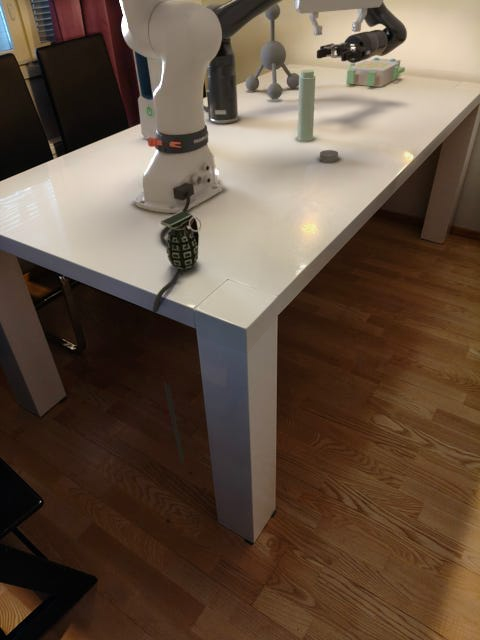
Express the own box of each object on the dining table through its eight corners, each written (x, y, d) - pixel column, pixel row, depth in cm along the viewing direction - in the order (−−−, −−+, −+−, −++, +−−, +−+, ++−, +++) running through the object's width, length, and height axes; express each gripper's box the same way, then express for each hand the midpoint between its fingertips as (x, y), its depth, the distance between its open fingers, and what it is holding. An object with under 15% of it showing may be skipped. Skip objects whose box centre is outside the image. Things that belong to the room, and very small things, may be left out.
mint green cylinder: (314, 140, 144) (318, 71, 133) (300, 142, 144) (302, 73, 132) (309, 136, 148) (312, 68, 137) (295, 137, 147) (297, 70, 136)
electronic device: (141, 137, 154) (123, 28, 136) (159, 131, 158) (144, 24, 140) (166, 145, 147) (151, 30, 129) (185, 138, 151) (172, 26, 133)
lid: (325, 154, 134) (326, 148, 133) (341, 158, 132) (341, 152, 131) (316, 160, 132) (316, 154, 131) (331, 163, 129) (331, 157, 128)
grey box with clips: (365, 55, 208) (411, 58, 198) (363, 72, 212) (408, 76, 202) (337, 67, 192) (386, 71, 182) (336, 85, 196) (383, 90, 186)
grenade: (182, 278, 88) (175, 228, 82) (162, 268, 91) (153, 219, 85) (208, 263, 92) (203, 214, 85) (187, 253, 95) (181, 205, 89)
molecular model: (318, 92, 188) (323, -1, 170) (273, 103, 179) (272, 6, 161) (281, 82, 204) (281, -3, 186) (237, 91, 195) (233, 3, 176)
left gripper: (300, -37, 101) (298, 39, 110) (391, -44, 104) (383, 31, 112) (291, -38, 106) (290, 35, 114) (378, -44, 109) (371, 27, 117)
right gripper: (342, 31, 149) (310, 39, 141) (383, 34, 141) (352, 42, 132) (340, 58, 154) (309, 67, 145) (380, 62, 146) (349, 73, 137)
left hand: (337, 33), depth 113 cm, fingers open, 8 cm apart
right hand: (330, 55), depth 139 cm, fingers open, 8 cm apart
